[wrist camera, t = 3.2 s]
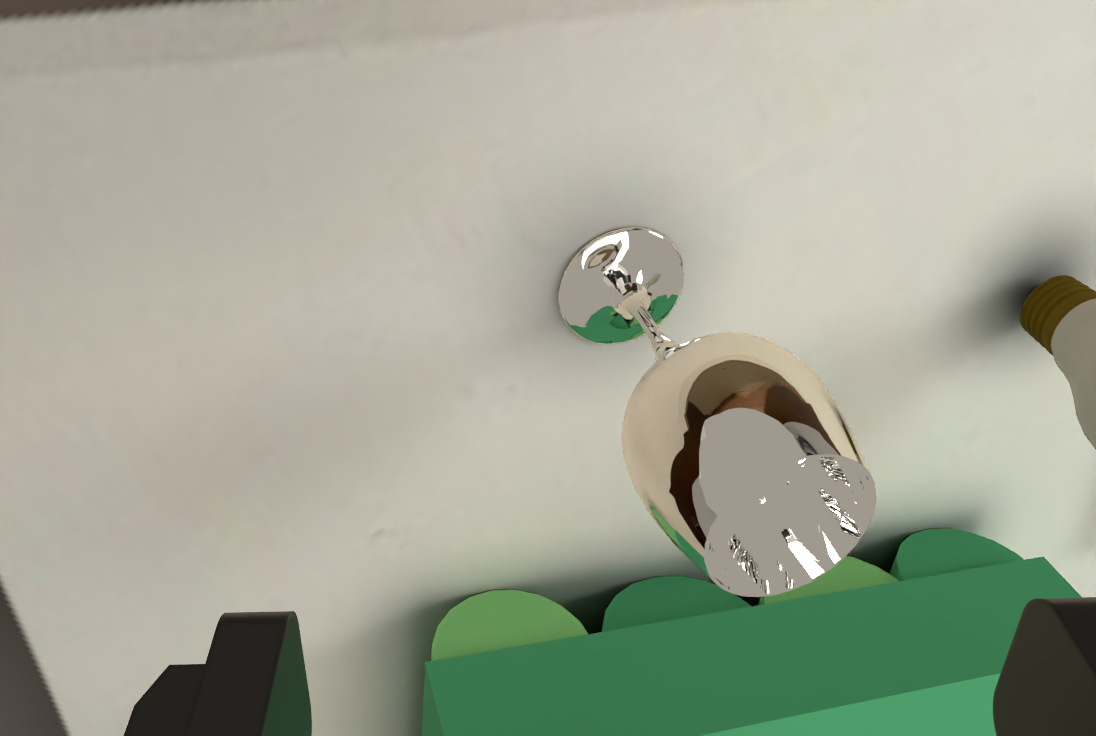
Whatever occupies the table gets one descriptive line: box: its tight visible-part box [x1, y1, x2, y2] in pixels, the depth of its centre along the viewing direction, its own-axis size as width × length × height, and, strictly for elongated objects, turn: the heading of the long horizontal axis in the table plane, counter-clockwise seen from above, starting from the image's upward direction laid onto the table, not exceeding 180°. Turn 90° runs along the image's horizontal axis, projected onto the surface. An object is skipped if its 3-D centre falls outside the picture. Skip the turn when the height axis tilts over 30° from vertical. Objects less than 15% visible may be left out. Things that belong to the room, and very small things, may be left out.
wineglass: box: [558, 227, 876, 597], centre depth 30 cm, size 6×6×12 cm
